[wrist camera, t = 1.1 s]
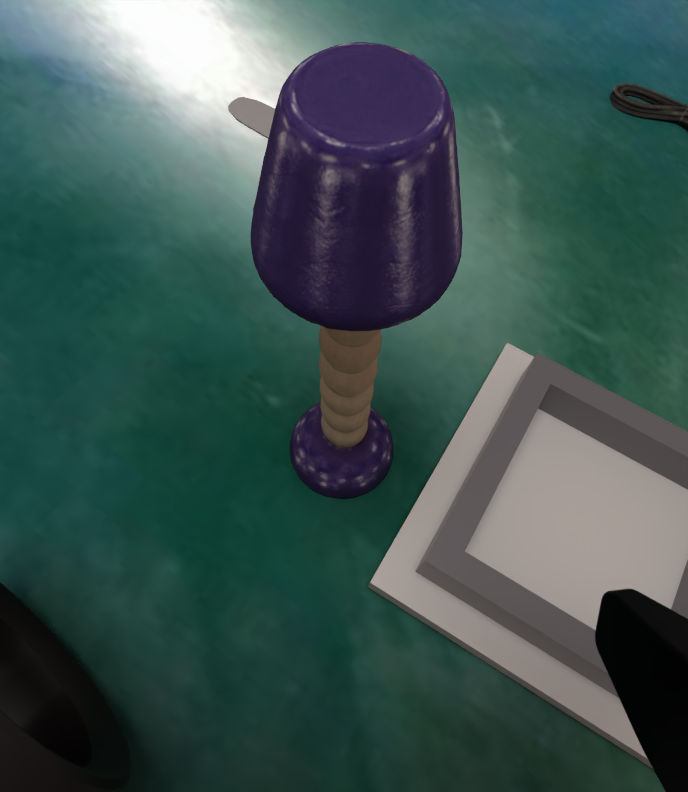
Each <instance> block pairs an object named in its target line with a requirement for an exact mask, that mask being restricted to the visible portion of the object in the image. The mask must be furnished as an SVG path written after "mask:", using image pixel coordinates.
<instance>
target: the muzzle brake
mask: <svg viewBox="0 0 688 792" xmlns="http://www.w3.org/2000/svg"><path fill="white" fill-rule="evenodd" d="M129 775H130V755H129V748H128V745H127V742H126V739H125V737H124V734H123V731H122V729H121V727H120V725H119V723H118V721H117V719H116V717H115V715H114V714H113V712H112V710H111V709H110V707H109V705H108V704H107V702H106V701H105V699H104V697H103V696H102V694H101V693H100V691H99V690H98V689H97V687H96V686H95V684H94V683H93V681H92V680H91V679H90V677H89V676H88V675H87V674H86V672H85V671H84V670H83V669H82V668H81V666H80V665H79V664H78V663H77V661H76V660H75V659H74V658H73V657H72V655H71V654H70V653H69V652H68V650H67V649H66V648H65V647H64V646H63V644H62V643H61V642H60V641H59V639H58V638H57V637H56V636H55V635H54V634H53V633H52V632H51V631H50V630H49V629H48V627H47V626H46V625H45V624H44V623H43V622H42V621H41V620H40V619H39V618H38V617H37V616H36V615H35V614H34V613H33V612H32V611H31V610H30V609H29V608H28V607H27V606H26V605H25V604H24V603H23V602H22V601H21V600H19V599H18V598H17V597H16V596H15V595H14V594H13V593H12V592H10V591H9V590H8V589H7V588H6V587H5V586H4V585H3V584H1V583H0V792H119V791H120V790H121V789H122V788H123V787H124V785H125V784H126V783H127V782H128V781H129Z"/></svg>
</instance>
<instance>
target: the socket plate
mask: <svg viewBox="0 0 688 792" xmlns="http://www.w3.org/2000/svg"><path fill="white" fill-rule="evenodd" d="M368 588H370V589H372V590H373V591H375V592H376V593H378V594H379V595H381V596H383V597H384V598H386V599H387V600H389V601H390V602H392V603H394V604H395V605H397V606H398V607H400V608H401V609H403V610H405V611H406V612H408V613H409V614H411V615H412V616H414V617H416V618H417V619H419V620H420V621H422V622H423V623H425V624H427V625H428V626H430V627H431V628H433V629H434V630H436V631H437V632H439V633H441V634H442V635H444V636H445V637H447V638H448V639H450V640H452V641H453V642H455V643H456V644H458V645H459V646H461V647H463V648H464V649H466V650H467V651H469V652H470V653H472V654H474V655H475V656H477V657H478V658H480V659H481V660H483V661H485V662H486V663H488V664H489V665H491V666H492V667H494V668H496V669H497V670H499V671H500V672H502V673H503V674H505V675H507V676H508V677H510V678H511V679H513V680H514V681H516V682H518V683H519V684H521V685H522V686H524V687H525V688H527V689H528V690H530V691H532V692H533V693H535V694H536V695H538V696H539V697H541V698H543V699H544V700H546V701H547V702H549V703H550V704H552V705H554V706H555V707H557V708H558V709H560V710H561V711H563V712H565V713H566V714H568V715H569V716H571V717H572V718H574V719H576V720H577V721H579V722H580V723H582V724H583V725H585V726H587V727H588V728H590V729H591V730H593V731H594V732H596V733H598V734H599V735H601V736H602V737H604V738H605V739H607V740H609V741H610V742H612V743H613V744H615V745H616V746H618V747H619V748H621V749H623V750H624V751H626V752H627V753H629V754H630V755H632V756H634V757H635V758H637V759H638V760H640V761H641V762H643V763H645V764H646V765H648V766H649V767H651V768H652V766H651V764H650V762H649V760H648V758H647V757H646V755H645V753H644V751H643V749H642V747H641V745H640V743H639V740H638V738H637V736H636V734H635V732H634V730H633V728H632V725H631V723H630V721H629V719H628V717H627V714H626V712H625V710H624V708H623V705H622V703H621V701H620V699H619V697H618V694H617V692H616V690H615V688H614V686H613V683H612V681H611V679H610V677H609V675H608V672H607V670H606V668H605V666H604V663H603V661H602V659H601V657H600V655H599V652H598V650H597V646H596V642H595V630H596V625H597V620H598V615H599V609H600V604H601V599H602V596H603V595H604V593H605V592H607V591H610V590H619V589H634V590H636V591H639V592H640V593H642V594H644V595H646V596H648V597H649V598H651V599H653V600H655V601H657V602H658V603H660V604H662V605H664V606H666V607H668V608H669V609H671V610H673V611H675V612H677V613H678V614H680V615H682V616H684V617H686V618H687V619H688V432H687V431H685V430H683V429H681V428H679V427H677V426H676V425H674V424H672V423H670V422H668V421H666V420H664V419H662V418H660V417H658V416H657V415H655V414H653V413H651V412H649V411H647V410H645V409H643V408H641V407H639V406H637V405H636V404H634V403H632V402H630V401H628V400H626V399H624V398H622V397H620V396H618V395H617V394H615V393H613V392H611V391H609V390H607V389H605V388H603V387H601V386H599V385H597V384H596V383H594V382H592V381H590V380H588V379H586V378H584V377H582V376H580V375H578V374H577V373H575V372H573V371H571V370H569V369H567V368H565V367H563V366H561V365H559V364H558V363H556V362H554V361H552V360H550V359H548V358H546V357H544V356H542V355H540V354H538V353H537V354H536V355H535V357H533V356H531V355H529V354H527V353H525V352H524V351H522V350H520V349H518V348H516V347H514V346H512V345H510V344H508V343H507V344H506V346H505V347H504V349H503V351H502V353H501V354H500V356H499V358H498V360H497V361H496V363H495V365H494V367H493V368H492V370H491V372H490V374H489V375H488V377H487V379H486V380H485V382H484V384H483V386H482V387H481V389H480V391H479V393H478V394H477V396H476V398H475V400H474V401H473V403H472V405H471V407H470V408H469V410H468V412H467V414H466V415H465V417H464V419H463V421H462V422H461V424H460V426H459V428H458V429H457V431H456V433H455V435H454V436H453V438H452V440H451V442H450V443H449V445H448V447H447V449H446V450H445V452H444V454H443V456H442V457H441V459H440V461H439V463H438V464H437V466H436V468H435V470H434V471H433V473H432V475H431V477H430V478H429V480H428V482H427V484H426V485H425V487H424V489H423V491H422V492H421V494H420V496H419V498H418V499H417V501H416V503H415V505H414V506H413V508H412V510H411V512H410V513H409V515H408V517H407V518H406V520H405V522H404V524H403V525H402V527H401V529H400V531H399V532H398V534H397V536H396V538H395V539H394V541H393V543H392V545H391V546H390V548H389V550H388V552H387V553H386V555H385V557H384V559H383V560H382V562H381V564H380V566H379V567H378V569H377V571H376V573H375V574H374V576H373V578H372V580H371V581H370V583H369V585H368ZM652 769H653V768H652Z"/></svg>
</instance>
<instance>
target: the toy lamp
mask: <svg viewBox="0 0 688 792" xmlns="http://www.w3.org/2000/svg"><path fill="white" fill-rule="evenodd" d="M251 248H252V255H253V260H254V263H255V267H256V269H257V271H258V274H259V276H260V278H261V280H262V281H263V283H264V284H265V286H266V287H267V288H268V290H269V291H270V293H271V294H272V295H273V297H275V298H276V299H277V300H278V301H279V302H281V303H282V304H283V305H284V306H285V307H286V308H287V309H289V310H290V311H292V312H293V313H295V314H297V315H298V316H300V317H301V318H304V319H305V320H307V321H309V322H311V323H315V324H319V325H321V328H320V332H319V343H320V348H321V351H322V352H321V355H320V359H319V369H320V374H321V379H320V393H321V397H322V398H321V402H319V403H317V404H316V405H314V406H312V407H311V408H310V409H309V410H307V411H306V412H305V413H304V414H303V415H302V417H301V418H300V419H299V421H298V423H297V424H296V426H295V428H294V430H293V433H292V437H291V441H290V457H291V461H292V464H293V467H294V469H295V471H296V472H297V474H298V476H299V477H300V479H301V480H302V481H303V482H304V483H305V484H306V485H307V486H308V487H309V488H311V489H313V490H314V491H316V492H318V493H320V494H322V495H325V496H329V497H336V498H350V497H355V496H359V495H362V494H365V493H367V492H369V491H370V490H372V489H373V488H374V487H376V486H377V485H378V484H379V483H380V482H381V481H382V480H383V479H384V478H385V476H386V475H387V473H388V470H389V468H390V465H391V461H392V457H393V442H392V437H391V433H390V430H389V428H388V426H387V424H386V422H385V421H384V419H383V418H382V417H381V416H380V414H379V413H378V412H377V411H376V410H374V409H373V408H372V407H371V406H370V402H371V399H372V396H373V392H374V383H373V382H374V380H375V377H376V374H377V366H378V363H377V356H378V354H379V351H380V348H381V331H380V330H381V329H384V328H389V327H392V326H395V325H399V324H401V323H403V322H405V321H408V320H411V319H413V318H415V317H417V316H419V315H420V314H421V313H423V312H424V311H426V310H427V309H429V308H430V307H431V306H432V305H433V304H434V303H436V302H437V301H438V300H439V299H440V297H441V296H442V295H443V294H444V292H445V291H446V290H447V288H448V286H449V285H450V283H451V281H452V279H453V277H454V275H455V273H456V270H457V267H458V264H459V262H460V258H461V249H462V218H461V200H460V186H459V168H458V158H457V145H456V130H455V120H454V112H453V108H452V104H451V101H450V98H449V95H448V92H447V89H446V87H445V85H444V83H443V81H442V80H441V79H440V77H439V76H438V75H437V73H436V72H435V71H434V70H433V69H432V68H431V67H429V66H428V65H427V64H426V63H425V62H424V61H423V60H421V59H419V58H418V57H416V56H415V55H413V54H411V53H409V52H406V51H404V50H401V49H399V48H396V47H391V46H387V45H382V44H375V43H366V42H355V43H346V44H341V45H336V46H333V47H331V48H328V49H325V50H322V51H320V52H318V53H316V54H314V55H312V56H310V57H308V58H307V59H306V60H304V61H303V62H301V63H300V64H299V65H298V66H297V67H296V68H295V69H294V70H293V72H292V73H291V74H290V76H289V77H288V79H287V80H286V82H285V83H284V85H283V87H282V89H281V92H280V95H279V98H278V102H277V105H276V108H275V112H274V116H273V121H272V125H271V129H270V134H269V139H268V144H267V149H266V152H265V156H264V160H263V165H262V171H261V176H260V181H259V186H258V191H257V196H256V201H255V205H254V208H253V218H252V225H251Z"/></svg>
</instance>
